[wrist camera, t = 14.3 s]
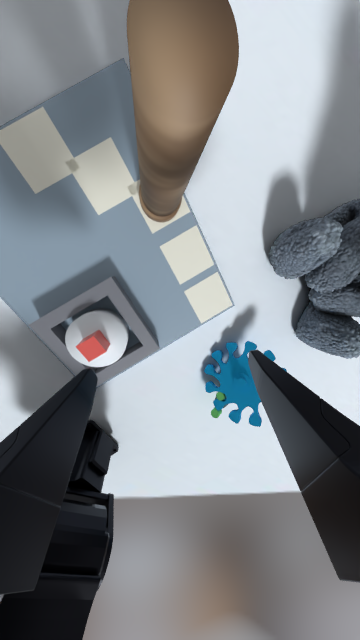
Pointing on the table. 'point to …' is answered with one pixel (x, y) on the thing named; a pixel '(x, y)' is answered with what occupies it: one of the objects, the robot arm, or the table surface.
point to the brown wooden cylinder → (177, 90)
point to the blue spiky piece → (235, 383)
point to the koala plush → (326, 277)
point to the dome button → (97, 337)
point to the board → (96, 228)
